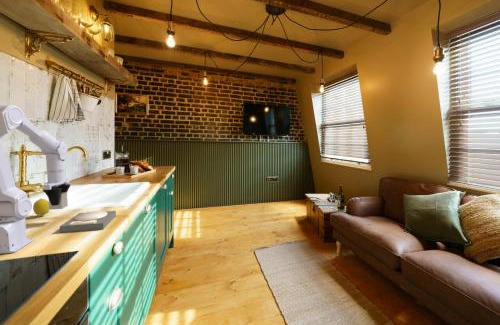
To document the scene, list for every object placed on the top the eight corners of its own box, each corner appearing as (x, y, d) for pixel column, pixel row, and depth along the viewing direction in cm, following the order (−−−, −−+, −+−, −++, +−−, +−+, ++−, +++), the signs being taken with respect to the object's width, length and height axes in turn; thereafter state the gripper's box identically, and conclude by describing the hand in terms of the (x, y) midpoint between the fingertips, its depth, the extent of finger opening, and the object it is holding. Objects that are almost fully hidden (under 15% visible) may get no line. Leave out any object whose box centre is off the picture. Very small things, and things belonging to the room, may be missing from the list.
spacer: (62, 208, 93) (61, 194, 92) (49, 209, 91) (48, 194, 91) (67, 205, 97) (66, 191, 96) (55, 206, 96) (54, 192, 95)
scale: (103, 229, 87) (103, 221, 87) (60, 232, 84) (59, 224, 83) (116, 216, 103) (115, 209, 103) (79, 218, 99) (79, 211, 99)
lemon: (40, 218, 98) (39, 200, 97) (30, 217, 99) (28, 199, 98) (53, 214, 104) (52, 197, 103) (44, 213, 105) (42, 196, 104)
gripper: (58, 172, 87) (60, 208, 88) (76, 168, 101) (77, 198, 102) (35, 173, 85) (38, 209, 86) (57, 168, 99) (59, 199, 100)
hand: (58, 203), depth 94 cm, fingers closed on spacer, 4 cm apart
